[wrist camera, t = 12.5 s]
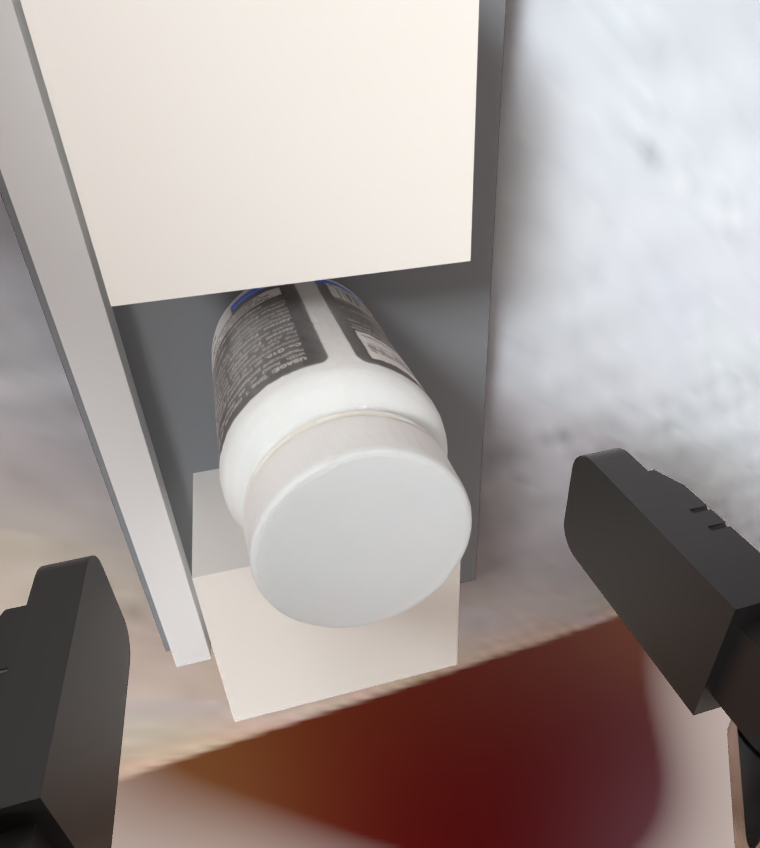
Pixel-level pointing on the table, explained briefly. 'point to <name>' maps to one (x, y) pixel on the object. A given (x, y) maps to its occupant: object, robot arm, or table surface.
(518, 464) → the table surface
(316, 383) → the pill bottle
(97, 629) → the robot arm
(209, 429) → the rail board
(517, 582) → the table surface
